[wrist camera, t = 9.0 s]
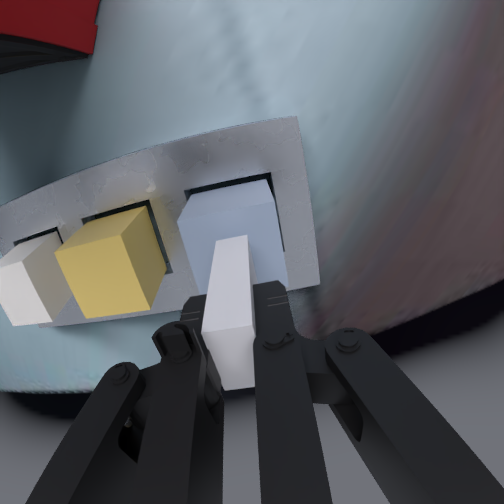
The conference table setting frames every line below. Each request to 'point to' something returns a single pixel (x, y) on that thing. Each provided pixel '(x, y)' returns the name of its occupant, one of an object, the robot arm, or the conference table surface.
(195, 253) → the slate key
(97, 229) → the mustard key
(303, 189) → the key panel
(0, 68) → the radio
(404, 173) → the conference table surface
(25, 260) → the ivory key
